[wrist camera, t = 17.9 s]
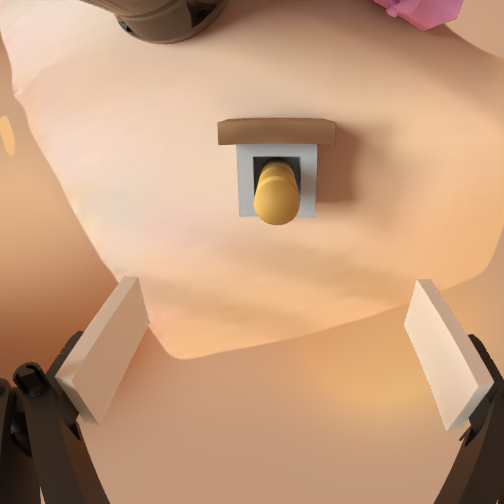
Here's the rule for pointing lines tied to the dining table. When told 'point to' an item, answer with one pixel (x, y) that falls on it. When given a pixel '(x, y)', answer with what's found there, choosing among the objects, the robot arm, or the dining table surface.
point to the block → (251, 167)
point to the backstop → (276, 131)
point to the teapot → (423, 11)
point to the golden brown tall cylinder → (277, 192)
